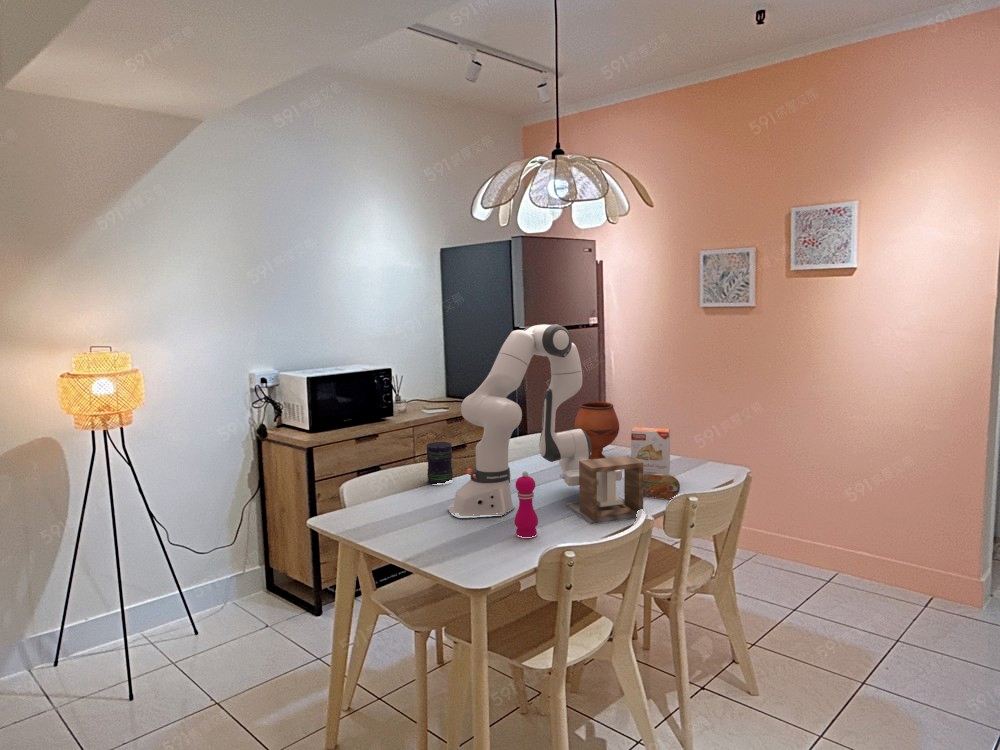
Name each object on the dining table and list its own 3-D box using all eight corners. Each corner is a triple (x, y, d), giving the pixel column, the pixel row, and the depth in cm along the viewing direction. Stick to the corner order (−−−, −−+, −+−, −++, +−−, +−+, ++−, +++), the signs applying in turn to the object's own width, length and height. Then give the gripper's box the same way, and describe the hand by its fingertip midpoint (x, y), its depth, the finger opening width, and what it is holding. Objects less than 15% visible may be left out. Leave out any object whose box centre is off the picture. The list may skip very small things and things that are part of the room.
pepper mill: (513, 531, 211) (512, 468, 209) (536, 530, 212) (535, 467, 209) (515, 540, 204) (514, 475, 201) (539, 539, 204) (538, 474, 202)
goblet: (575, 468, 282) (575, 408, 279) (572, 456, 301) (572, 400, 298) (622, 467, 281) (622, 407, 278) (616, 455, 300) (616, 399, 297)
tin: (636, 495, 244) (636, 473, 242) (638, 493, 246) (638, 470, 245) (678, 501, 237) (678, 477, 235) (680, 498, 239) (681, 475, 238)
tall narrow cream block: (600, 507, 222) (600, 472, 220) (588, 498, 230) (588, 465, 229) (622, 504, 224) (622, 470, 223) (610, 496, 233) (610, 463, 231)
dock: (590, 524, 216) (589, 469, 213) (566, 506, 234) (566, 455, 231) (646, 516, 222) (646, 462, 219) (619, 499, 240) (619, 449, 237)
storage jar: (429, 478, 272) (428, 442, 270) (454, 478, 271) (453, 441, 269) (426, 486, 262) (424, 448, 260) (451, 485, 262) (450, 447, 260)
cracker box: (630, 484, 258) (630, 429, 255) (632, 479, 263) (632, 426, 261) (668, 486, 253) (669, 431, 251) (670, 482, 259) (670, 428, 256)
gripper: (557, 466, 238) (573, 476, 225) (610, 460, 244) (629, 469, 231) (558, 483, 239) (574, 494, 226) (610, 477, 245) (629, 487, 232)
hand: (602, 482), depth 228 cm, fingers closed on tall narrow cream block, 3 cm apart
